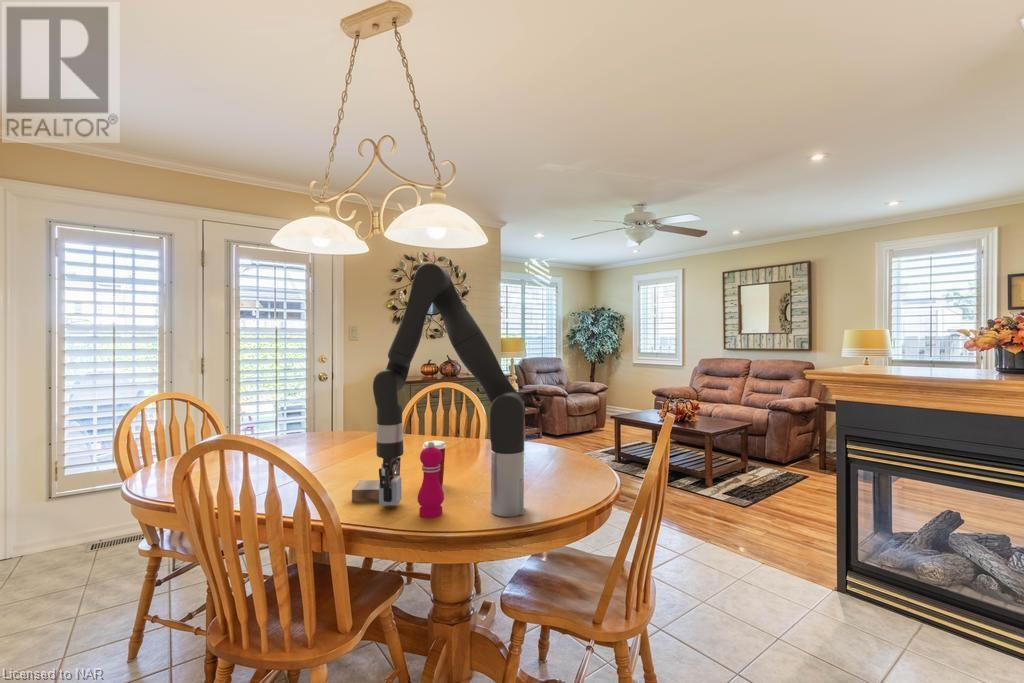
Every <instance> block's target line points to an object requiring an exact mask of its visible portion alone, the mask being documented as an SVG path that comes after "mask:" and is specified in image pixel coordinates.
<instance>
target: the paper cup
mask: <svg viewBox="0 0 1024 683" xmlns="http://www.w3.org/2000/svg"><path fill="white" fill-rule="evenodd" d="M429 442H433V443H434V447H435V448H438V449H439V450H440V451H441V453H442V460H441V462H440V463H439V464H440V470H439V474H438V476H439V482H440V485H441V487H443V485H444V474H445V473H444V472H445V471H444V470H445V458H446V456H445V455H446V448H447V445H446V443H445V441H444V440H443V441H442V440H430V441H425V442H424V443H423V445H422V451H423V450H424V449H425V448H428V443H429Z"/></svg>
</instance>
